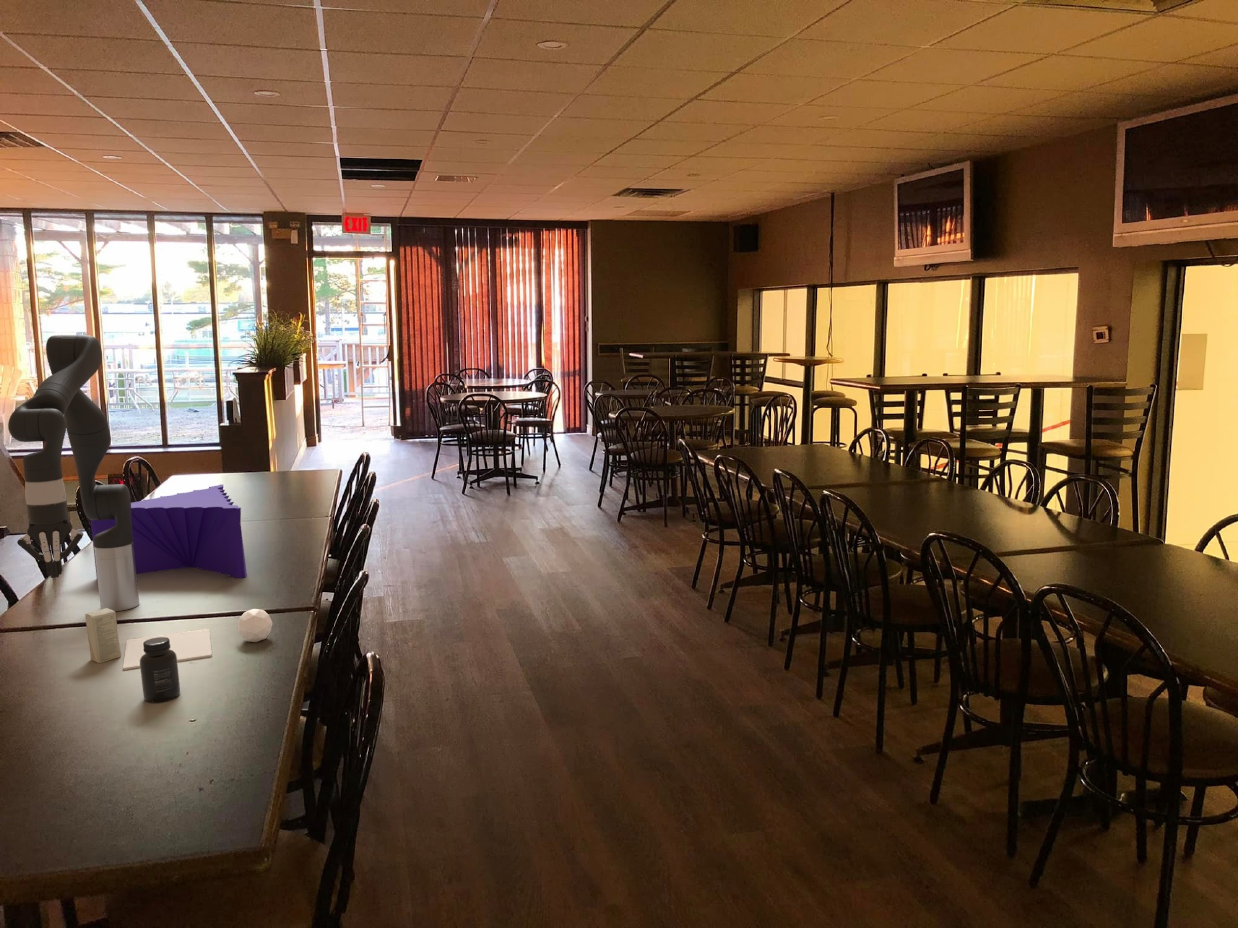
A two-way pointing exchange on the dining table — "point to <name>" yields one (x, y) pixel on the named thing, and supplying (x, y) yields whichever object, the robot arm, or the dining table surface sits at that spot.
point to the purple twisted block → (185, 533)
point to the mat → (172, 647)
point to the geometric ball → (254, 625)
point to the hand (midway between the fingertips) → (55, 576)
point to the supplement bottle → (159, 671)
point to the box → (103, 635)
